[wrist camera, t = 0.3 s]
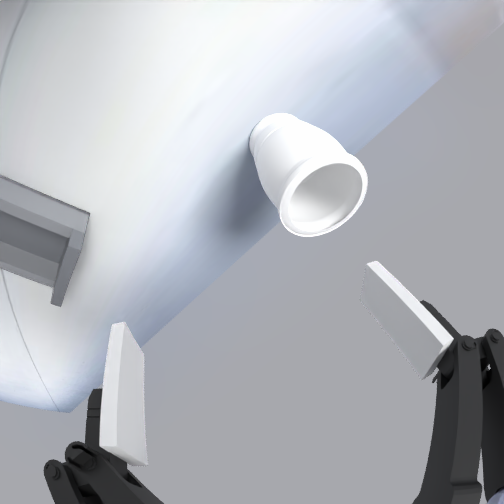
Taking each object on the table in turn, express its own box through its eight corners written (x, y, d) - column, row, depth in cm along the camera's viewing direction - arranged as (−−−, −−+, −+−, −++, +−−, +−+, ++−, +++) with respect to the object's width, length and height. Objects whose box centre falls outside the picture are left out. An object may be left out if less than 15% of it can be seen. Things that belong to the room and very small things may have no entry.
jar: (281, 180, 42) (324, 246, 32) (226, 153, 36) (259, 221, 26) (322, 128, 37) (384, 182, 27) (271, 91, 31) (329, 135, 21)
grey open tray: (-45, 153, 17) (-72, 183, 12) (89, 213, 36) (81, 250, 30) (-48, 223, 24) (-65, 255, 18) (66, 270, 42) (60, 306, 37)
